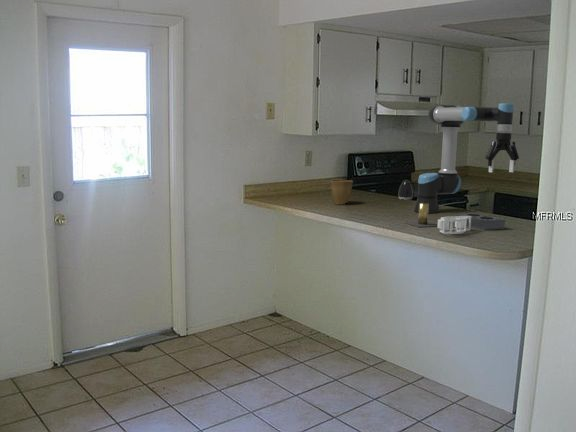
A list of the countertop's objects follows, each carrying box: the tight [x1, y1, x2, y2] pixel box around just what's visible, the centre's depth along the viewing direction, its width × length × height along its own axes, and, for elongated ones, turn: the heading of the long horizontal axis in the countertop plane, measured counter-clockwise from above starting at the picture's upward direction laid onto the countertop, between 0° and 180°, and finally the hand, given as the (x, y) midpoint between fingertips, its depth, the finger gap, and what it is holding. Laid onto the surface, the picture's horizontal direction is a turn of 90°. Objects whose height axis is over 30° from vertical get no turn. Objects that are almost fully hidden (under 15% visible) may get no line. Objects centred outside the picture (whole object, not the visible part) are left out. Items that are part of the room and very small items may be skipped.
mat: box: [404, 221, 438, 228], centre depth 323 cm, size 14×14×1 cm
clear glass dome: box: [397, 179, 414, 201], centre depth 420 cm, size 10×10×15 cm
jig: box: [455, 212, 506, 231], centre depth 323 cm, size 24×13×5 cm, turn 20°
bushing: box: [417, 203, 429, 225], centre depth 322 cm, size 5×5×11 cm
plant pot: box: [330, 179, 354, 204], centre depth 397 cm, size 15×15×16 cm
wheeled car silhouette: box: [437, 215, 471, 235], centre depth 304 cm, size 20×11×7 cm, turn 114°
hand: (501, 172), depth 324 cm, fingers open, 13 cm apart
